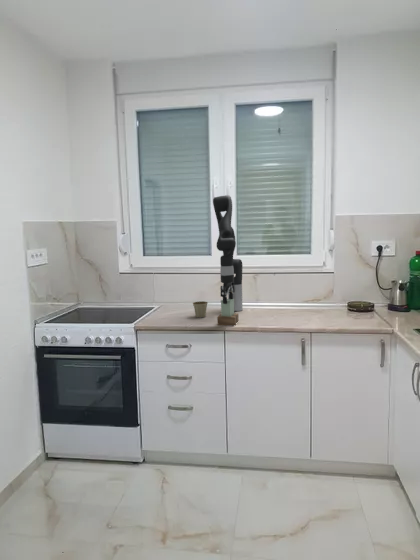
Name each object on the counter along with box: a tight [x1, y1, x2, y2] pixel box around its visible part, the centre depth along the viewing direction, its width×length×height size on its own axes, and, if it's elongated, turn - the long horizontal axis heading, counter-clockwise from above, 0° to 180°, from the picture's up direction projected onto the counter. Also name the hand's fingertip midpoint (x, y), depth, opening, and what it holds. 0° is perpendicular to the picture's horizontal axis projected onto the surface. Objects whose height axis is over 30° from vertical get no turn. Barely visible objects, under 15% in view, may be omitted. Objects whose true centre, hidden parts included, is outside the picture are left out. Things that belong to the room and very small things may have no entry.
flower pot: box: [192, 300, 209, 318], centre depth 256 cm, size 9×9×9 cm
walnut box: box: [217, 312, 239, 326], centre depth 237 cm, size 10×10×5 cm
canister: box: [220, 298, 235, 317], centre depth 237 cm, size 6×6×9 cm
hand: (228, 302), depth 236 cm, fingers open, 8 cm apart
